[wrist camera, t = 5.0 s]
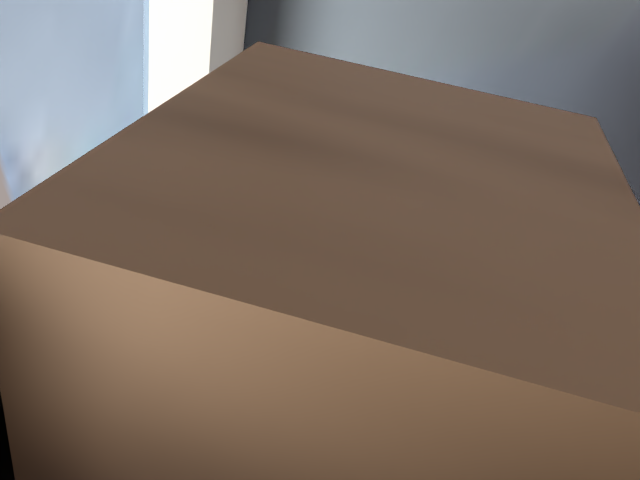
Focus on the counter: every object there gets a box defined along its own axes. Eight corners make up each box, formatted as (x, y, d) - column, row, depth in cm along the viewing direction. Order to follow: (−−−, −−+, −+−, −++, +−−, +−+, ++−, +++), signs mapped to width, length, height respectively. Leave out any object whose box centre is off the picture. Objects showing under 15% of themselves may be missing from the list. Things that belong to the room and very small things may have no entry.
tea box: (458, 447, 12) (439, 842, 7) (216, 376, 13) (40, 692, 8) (595, 117, 9) (756, 447, 3) (248, 39, 9) (-46, 222, 4)
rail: (201, -527, 12) (138, -619, 10) (294, -516, 12) (251, -610, 9) (167, 374, 24) (137, 420, 22) (212, 387, 24) (186, 435, 22)
